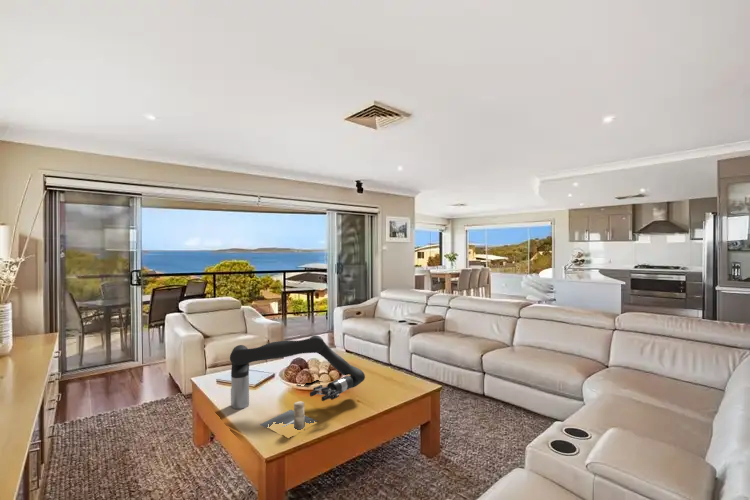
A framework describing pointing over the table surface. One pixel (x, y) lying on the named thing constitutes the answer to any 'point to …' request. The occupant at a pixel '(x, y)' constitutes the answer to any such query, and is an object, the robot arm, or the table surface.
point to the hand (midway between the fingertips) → (316, 396)
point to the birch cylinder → (299, 415)
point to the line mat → (285, 419)
